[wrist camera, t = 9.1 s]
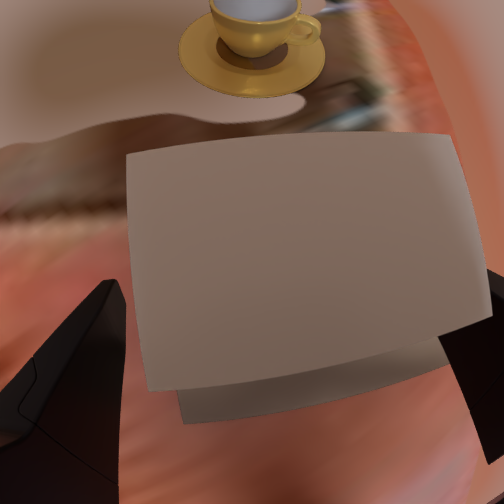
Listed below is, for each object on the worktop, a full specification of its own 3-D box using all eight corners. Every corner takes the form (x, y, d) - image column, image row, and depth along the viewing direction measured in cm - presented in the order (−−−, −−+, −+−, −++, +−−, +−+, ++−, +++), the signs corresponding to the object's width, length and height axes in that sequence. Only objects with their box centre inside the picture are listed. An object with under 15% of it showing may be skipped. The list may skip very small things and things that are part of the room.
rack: (446, 359, 19) (474, 363, 16) (186, 417, 17) (178, 437, 14) (412, 169, 21) (434, 151, 18) (157, 192, 19) (145, 172, 16)
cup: (154, 83, 21) (140, 35, 16) (209, 0, 23) (208, -42, 18) (309, 120, 21) (329, 73, 16) (332, 28, 24) (347, -14, 18)
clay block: (302, 313, 18) (492, 315, 4) (212, 327, 17) (149, 392, 3) (293, 260, 18) (449, 135, 4) (204, 272, 18) (126, 154, 4)
